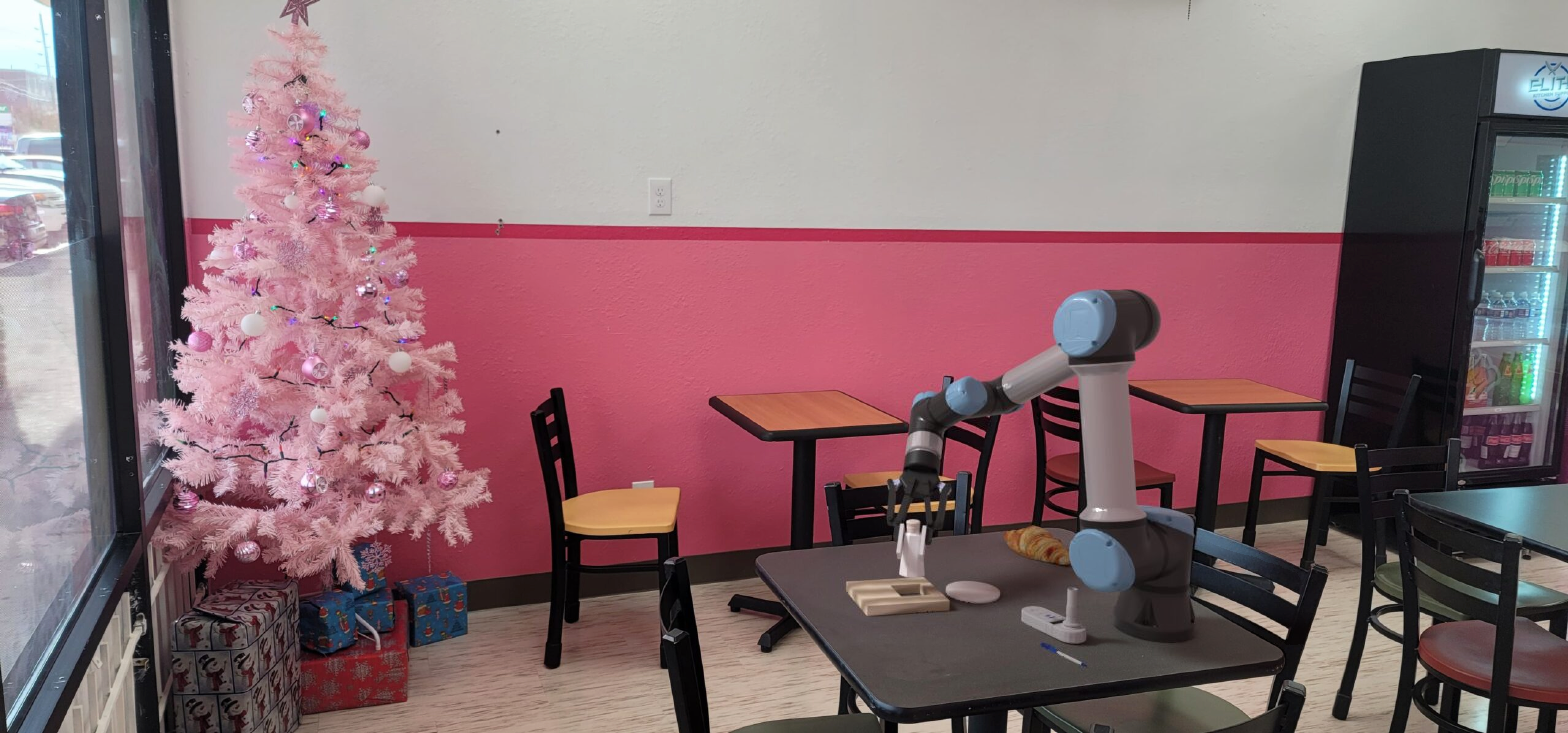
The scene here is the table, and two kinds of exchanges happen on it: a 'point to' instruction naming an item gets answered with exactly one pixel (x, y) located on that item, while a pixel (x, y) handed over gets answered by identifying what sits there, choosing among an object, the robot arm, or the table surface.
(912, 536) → the pepper shaker
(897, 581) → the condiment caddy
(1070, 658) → the ballpoint pen
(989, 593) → the saucer
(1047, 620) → the electronic device
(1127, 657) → the table surface
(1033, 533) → the croissant
